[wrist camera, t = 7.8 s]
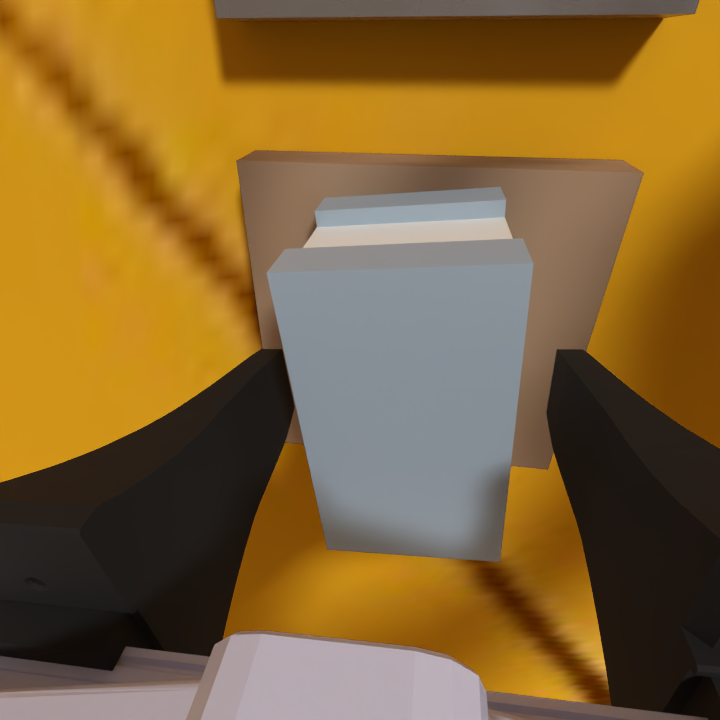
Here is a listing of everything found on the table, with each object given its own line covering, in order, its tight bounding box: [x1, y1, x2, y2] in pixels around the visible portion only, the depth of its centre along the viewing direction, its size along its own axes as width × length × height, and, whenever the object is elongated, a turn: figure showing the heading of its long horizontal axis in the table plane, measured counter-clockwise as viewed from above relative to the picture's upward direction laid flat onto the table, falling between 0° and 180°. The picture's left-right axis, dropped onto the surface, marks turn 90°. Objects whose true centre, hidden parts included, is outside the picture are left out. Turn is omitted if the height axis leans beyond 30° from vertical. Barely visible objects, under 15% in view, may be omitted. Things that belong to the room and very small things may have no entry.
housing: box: [267, 187, 534, 562], centre depth 12 cm, size 8×4×5 cm, turn 6°
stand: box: [237, 150, 643, 470], centre depth 15 cm, size 10×10×2 cm
